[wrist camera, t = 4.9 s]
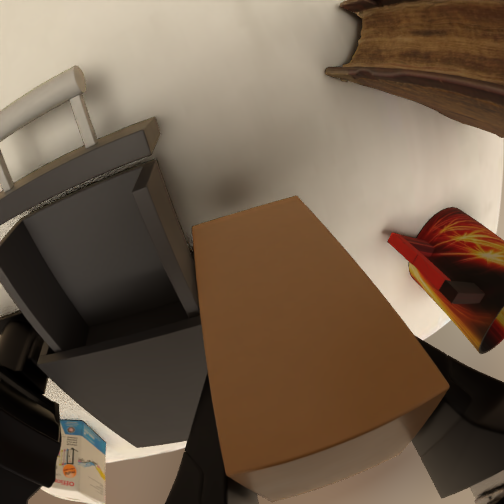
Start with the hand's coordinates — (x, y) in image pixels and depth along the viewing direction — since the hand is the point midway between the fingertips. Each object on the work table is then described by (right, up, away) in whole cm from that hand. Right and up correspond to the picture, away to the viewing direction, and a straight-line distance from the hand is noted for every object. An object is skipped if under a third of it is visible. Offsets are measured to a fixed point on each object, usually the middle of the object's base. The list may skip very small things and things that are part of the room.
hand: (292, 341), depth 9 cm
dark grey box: (-9, -5, +16) cm, 19 cm away
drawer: (-12, +5, +8) cm, 16 cm away
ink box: (-29, -25, +24) cm, 45 cm away
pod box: (-1, +3, +4) cm, 5 cm away
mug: (+17, +3, +19) cm, 26 cm away
